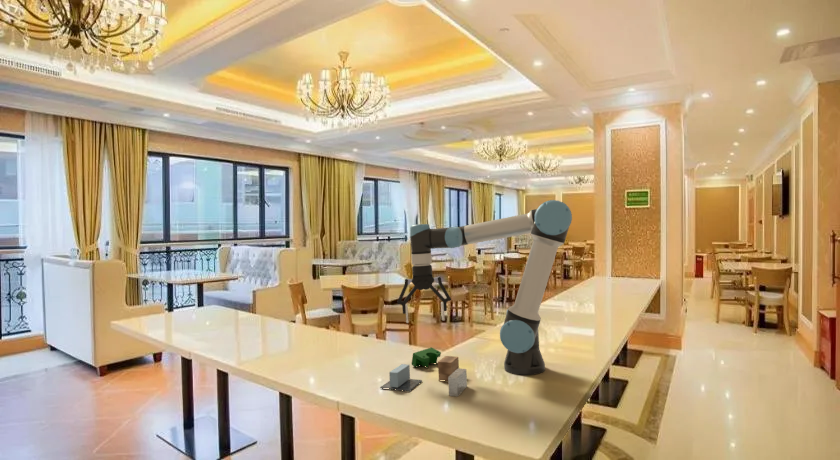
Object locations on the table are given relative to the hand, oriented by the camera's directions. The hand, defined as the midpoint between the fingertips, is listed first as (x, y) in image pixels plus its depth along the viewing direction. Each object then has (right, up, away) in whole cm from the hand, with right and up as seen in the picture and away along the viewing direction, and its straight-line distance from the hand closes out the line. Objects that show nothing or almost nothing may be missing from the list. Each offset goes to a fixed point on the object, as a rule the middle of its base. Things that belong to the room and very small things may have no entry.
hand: (425, 321), depth 170 cm
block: (+9, -20, -6) cm, 22 cm away
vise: (-2, -20, -14) cm, 25 cm away
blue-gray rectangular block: (-9, -20, -11) cm, 25 cm away
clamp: (+1, -21, +12) cm, 24 cm away
